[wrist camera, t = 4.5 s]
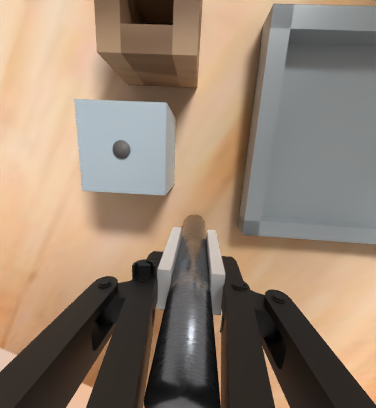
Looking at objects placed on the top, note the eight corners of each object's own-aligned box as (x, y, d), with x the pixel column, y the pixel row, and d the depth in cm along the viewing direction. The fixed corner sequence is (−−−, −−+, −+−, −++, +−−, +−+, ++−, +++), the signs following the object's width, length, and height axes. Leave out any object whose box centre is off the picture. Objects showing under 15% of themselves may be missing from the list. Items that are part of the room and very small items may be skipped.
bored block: (126, -1, 17) (89, -82, 11) (202, 1, 17) (204, -81, 11) (128, 84, 19) (97, 51, 13) (197, 87, 19) (196, 55, 13)
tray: (263, 25, 17) (273, 3, 15) (489, 32, 16) (539, 10, 14) (237, 226, 22) (242, 234, 19) (412, 238, 21) (439, 248, 19)
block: (110, 116, 20) (73, 98, 14) (175, 119, 20) (166, 102, 14) (113, 181, 22) (81, 190, 16) (174, 185, 21) (164, 195, 15)
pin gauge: (184, 214, 21) (143, 373, 6) (205, 215, 21) (224, 382, 5) (183, 233, 22) (143, 427, 6) (204, 235, 22) (216, 435, 6)
